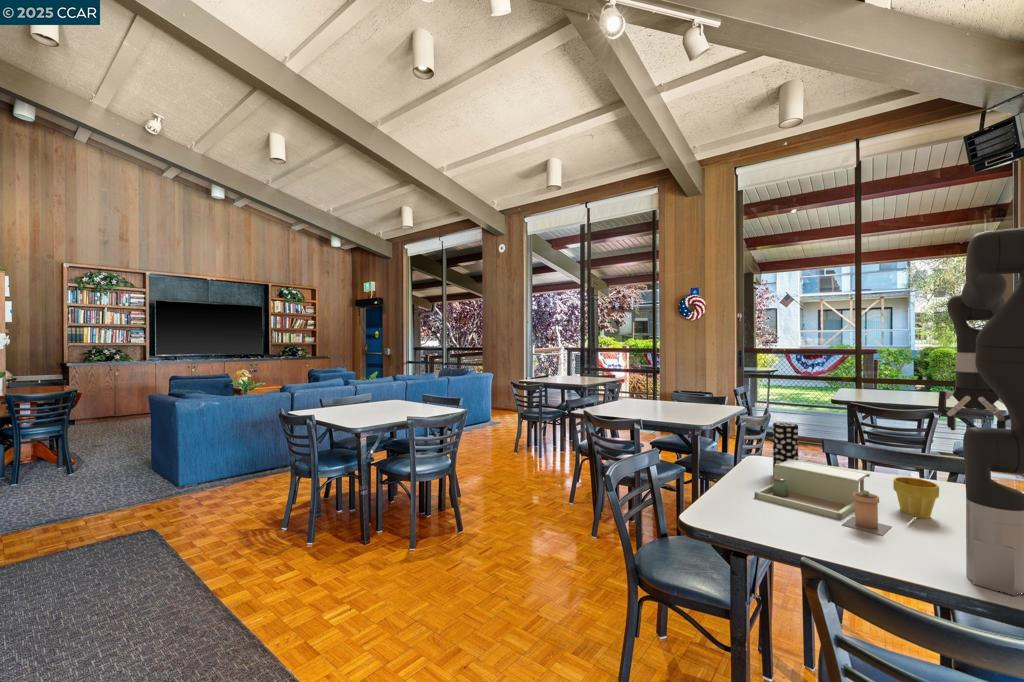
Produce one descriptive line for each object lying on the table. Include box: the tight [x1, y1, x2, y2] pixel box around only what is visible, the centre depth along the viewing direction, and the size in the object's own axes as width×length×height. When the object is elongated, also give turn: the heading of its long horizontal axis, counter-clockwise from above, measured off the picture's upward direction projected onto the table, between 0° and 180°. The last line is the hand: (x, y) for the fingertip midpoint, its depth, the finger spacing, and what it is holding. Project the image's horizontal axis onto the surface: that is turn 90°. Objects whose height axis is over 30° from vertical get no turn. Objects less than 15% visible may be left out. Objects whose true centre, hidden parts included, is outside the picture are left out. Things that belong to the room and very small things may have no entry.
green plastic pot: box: [771, 476, 789, 497], centre depth 153 cm, size 4×4×5 cm
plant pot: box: [892, 476, 940, 519], centre depth 137 cm, size 10×10×10 cm
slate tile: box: [841, 516, 893, 537], centre depth 127 cm, size 9×9×1 cm
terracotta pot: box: [853, 489, 880, 529], centre depth 127 cm, size 6×6×10 cm
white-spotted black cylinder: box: [772, 421, 799, 475], centre depth 176 cm, size 8×8×20 cm
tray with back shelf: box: [754, 459, 871, 520], centre depth 150 cm, size 28×24×9 cm
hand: (975, 432), depth 120 cm, fingers open, 8 cm apart
